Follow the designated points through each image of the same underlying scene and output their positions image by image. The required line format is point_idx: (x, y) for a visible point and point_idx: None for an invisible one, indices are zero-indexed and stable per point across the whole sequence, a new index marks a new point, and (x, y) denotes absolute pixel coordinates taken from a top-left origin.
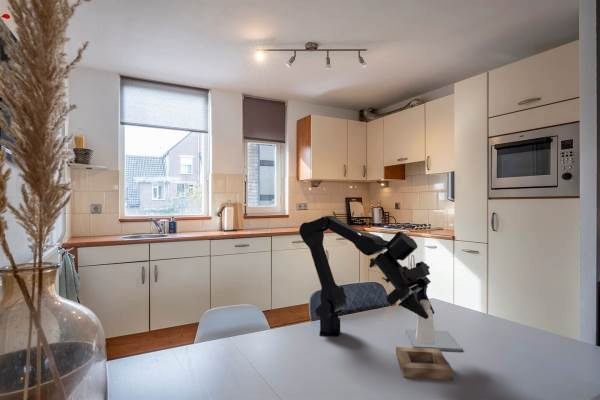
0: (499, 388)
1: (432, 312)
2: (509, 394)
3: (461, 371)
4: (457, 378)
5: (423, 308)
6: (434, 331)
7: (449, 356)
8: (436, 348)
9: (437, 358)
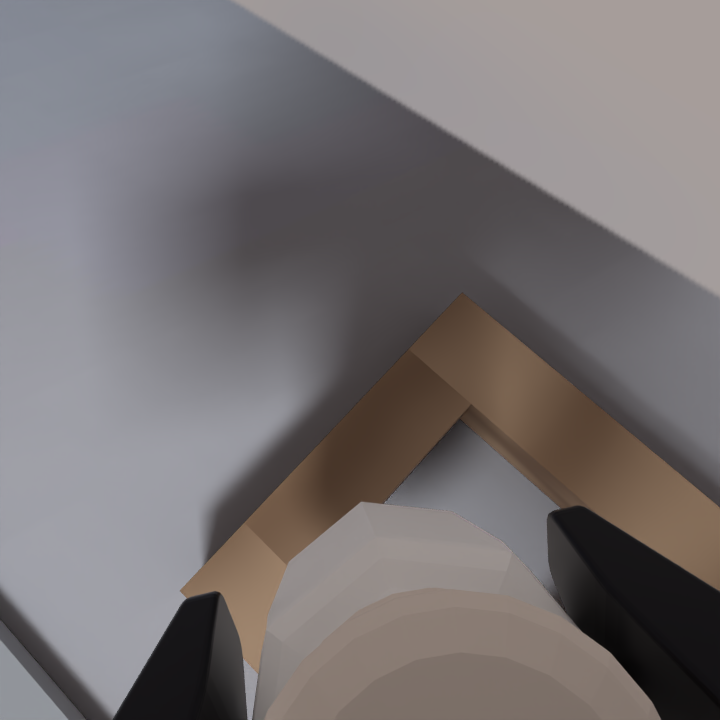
0: (303, 110)
1: (222, 631)
2: (324, 56)
3: (282, 347)
4: (403, 313)
5: (702, 647)
6: (362, 508)
7: (104, 543)
8: (58, 702)
9: (385, 477)
